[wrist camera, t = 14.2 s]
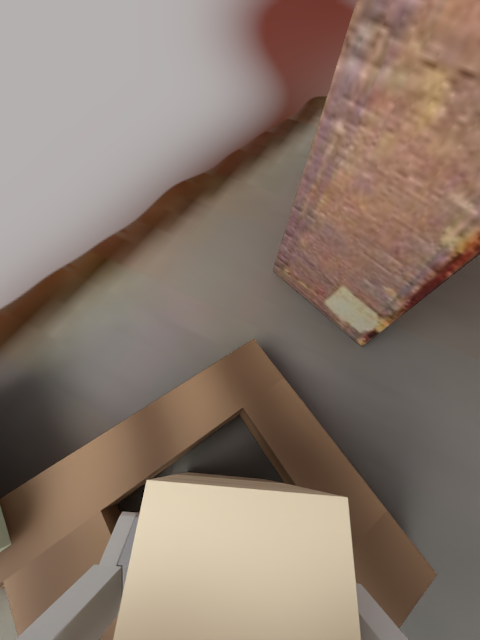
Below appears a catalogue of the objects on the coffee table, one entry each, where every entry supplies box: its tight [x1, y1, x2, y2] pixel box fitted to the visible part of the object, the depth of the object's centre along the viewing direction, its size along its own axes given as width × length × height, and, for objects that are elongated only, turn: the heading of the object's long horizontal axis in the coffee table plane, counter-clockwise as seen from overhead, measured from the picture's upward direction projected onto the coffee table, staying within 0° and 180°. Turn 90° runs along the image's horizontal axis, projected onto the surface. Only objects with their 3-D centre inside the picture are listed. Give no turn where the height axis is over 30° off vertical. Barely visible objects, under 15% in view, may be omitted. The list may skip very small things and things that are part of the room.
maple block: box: [113, 472, 361, 640], centre depth 10 cm, size 4×4×11 cm
